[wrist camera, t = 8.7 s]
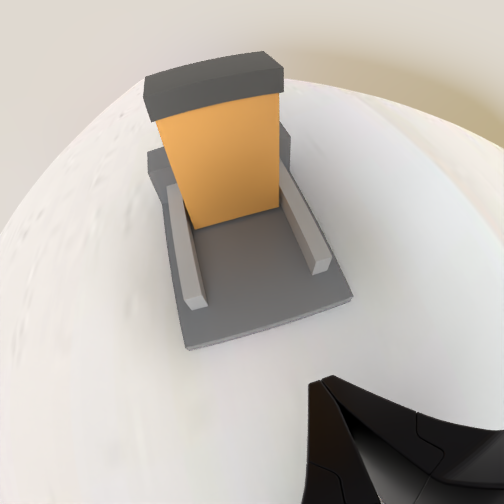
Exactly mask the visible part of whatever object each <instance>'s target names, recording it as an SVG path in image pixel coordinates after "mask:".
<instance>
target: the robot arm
mask: <svg viewBox="0 0 504 504" xmlns="http://www.w3.org/2000/svg"><path fill="white" fill-rule="evenodd" d="M376 492H377V493H378V495H379V496H380V498H381V499H382V501H383V502H384V504H504V430H486V429H480V428H474V427H469V426H464V425H459V424H454V423H450V422H446V421H442V420H439V419H436V418H433V417H430V416H427V415H424V414H422V413H419V412H417V413H416V411H414V410H411V409H409V408H406V407H404V406H401V405H399V404H397V403H394V402H392V401H389V400H387V399H385V398H382V397H380V396H378V395H376V394H373V393H371V392H369V391H366V390H364V389H362V388H360V387H358V386H355V385H353V384H351V383H349V382H347V381H345V380H343V379H340V378H338V377H336V376H334V375H331V376H328V377H326V378H323V379H322V380H321V381H320V380H318V381H315V382H312V383H310V384H309V385H308V440H307V464H306V479H305V488H304V493H303V498H302V502H301V504H381V502H380V500H379V497H378V495H377V493H376Z"/></svg>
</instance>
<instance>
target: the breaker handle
mask: <svg viewBox="0 0 504 504" xmlns="http://www.w3.org/2000/svg"><path fill="white" fill-rule="evenodd" d="M283 69H284V68H283V67H282V66H281V65H280V64H278V63H277V62H276V61H275V60H274V59H273V58H271V57H270V56H269V55H268V54H266V53H265V52H264V51H261V52H252V53H245V54H238V55H232V56H226V57H221V58H216V59H211V60H206V61H201V62H197V63H193V64H189V65H184V66H181V67H177V68H173V69H170V70H166V71H163V72H159V73H156V74H153V75H150V76H146V77H145V83H144V94H143V99H144V102H145V105H146V108H147V111H148V114H149V117H150V120H151V122H154V121H156V124H157V127H158V130H159V133H160V136H161V139H162V142H163V145H164V148H165V151H166V154H167V156H168V159H169V162H170V165H171V168H172V170H173V173H174V176H175V179H176V181H177V184H178V187H179V190H180V192H181V195H182V198H183V200H184V203H185V206H186V208H187V211H188V213H189V216H190V219H191V221H192V224H193V226H194V229H195V230H196V229H199V228H203V227H206V226H210V225H213V224H217V223H221V222H224V221H228V220H231V219H235V218H239V217H242V216H246V215H250V214H254V213H257V212H261V211H265V210H269V209H273V208H276V207H279V93H281V92H284V78H283V77H284V72H283Z"/></svg>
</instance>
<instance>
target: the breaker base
mask: <svg viewBox="0 0 504 504" xmlns="http://www.w3.org/2000/svg"><path fill="white" fill-rule="evenodd" d="M290 141H291V137H290V135H289V134H288V132H287V131H286V129H285V128H284V127H283V125H282V124H281V122H280V121H279V207H276V208H273V209H269V210H265V211H261V212H257V213H254V214H250V215H246V216H242V217H239V218H235V219H231V220H228V221H224V222H221V223H217V224H213V225H210V226H206V227H203V228H199V229H196V230H195V229H194V226H193V224H192V221H191V219H190V216H189V213H188V211H187V208H186V206H185V203H184V200H183V198H182V195H181V192H180V190H179V187H178V184H177V181H176V179H175V176H174V173H173V170H172V168H171V165H170V162H169V159H168V156H167V154H166V151H165V148H164V147H161V148H158V149H155V150H152V151H149V152H147V156H148V174H149V177H150V179H151V181H152V183H153V186H154V188H155V190H156V192H157V194H158V196H159V199H160V201H161V203H162V206H163V216H164V224H165V232H166V240H167V248H168V255H169V261H170V268H171V274H172V281H173V287H174V292H175V298H176V304H177V309H178V314H179V320H180V325H181V330H182V334H183V339H184V344H185V348H186V349H188V350H189V351H190V350H194V349H198V348H202V347H206V346H210V345H214V344H218V343H222V342H225V341H229V340H233V339H236V338H240V337H243V336H247V335H250V334H254V333H257V332H261V331H264V330H267V329H270V328H274V327H277V326H280V325H283V324H286V323H289V322H293V321H296V320H299V319H302V318H305V317H308V316H311V315H313V314H316V313H319V312H322V311H325V310H328V309H331V308H333V307H336V306H339V305H342V304H344V303H347V302H350V300H351V299H352V298H353V294H352V292H351V290H350V288H349V286H348V284H347V281H346V279H345V277H344V275H343V273H342V271H341V269H340V267H339V265H338V262H337V260H336V258H335V256H334V254H333V252H332V250H331V248H330V246H329V244H328V242H327V240H326V238H325V236H324V234H323V232H322V230H321V228H320V226H319V225H318V223H317V221H316V219H315V217H314V215H313V213H312V211H311V209H310V207H309V206H308V204H307V202H306V200H305V198H304V196H303V195H302V193H301V191H300V189H299V187H298V185H297V184H296V182H295V180H294V178H293V177H292V175H291V173H290V171H289V167H290Z"/></svg>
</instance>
